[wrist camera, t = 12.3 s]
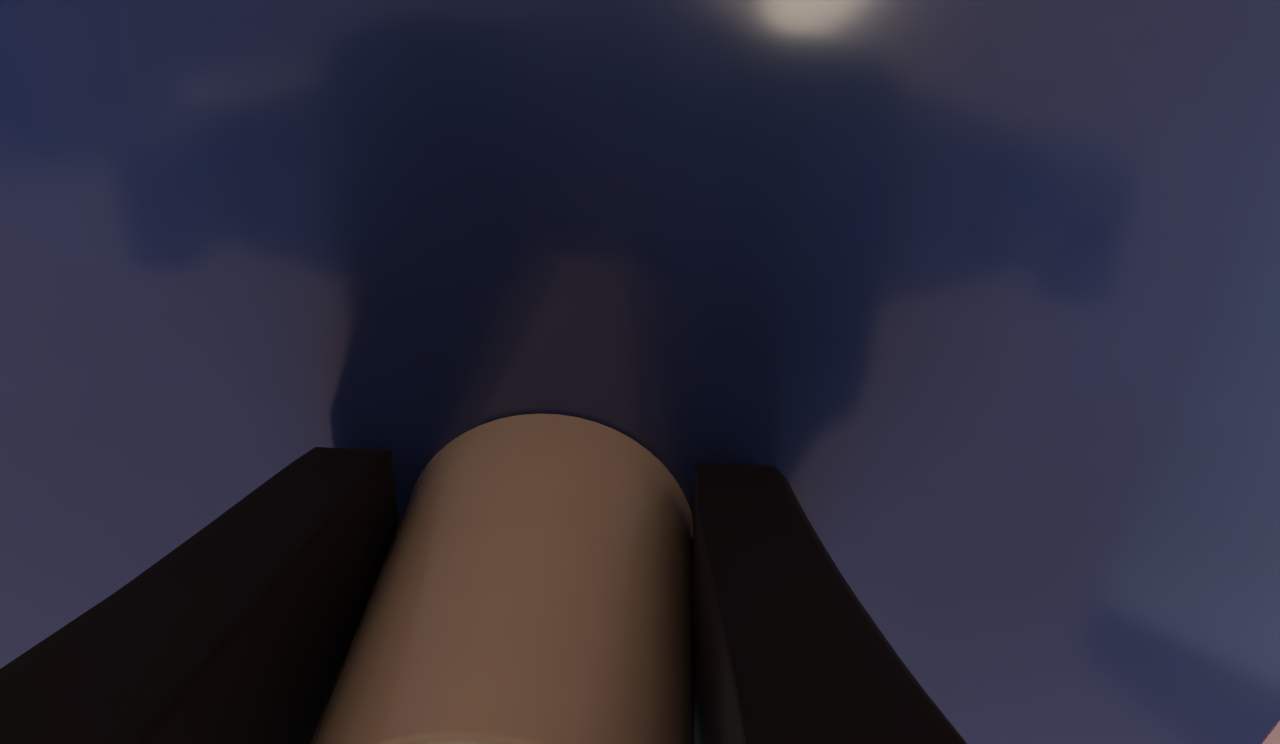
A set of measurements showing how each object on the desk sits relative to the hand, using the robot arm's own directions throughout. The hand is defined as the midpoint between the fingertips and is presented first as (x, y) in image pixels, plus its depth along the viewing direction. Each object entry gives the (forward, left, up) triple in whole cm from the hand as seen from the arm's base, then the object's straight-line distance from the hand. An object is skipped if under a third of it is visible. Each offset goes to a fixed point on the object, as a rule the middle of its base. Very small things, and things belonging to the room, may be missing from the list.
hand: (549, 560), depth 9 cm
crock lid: (0, 0, -1) cm, 1 cm away
